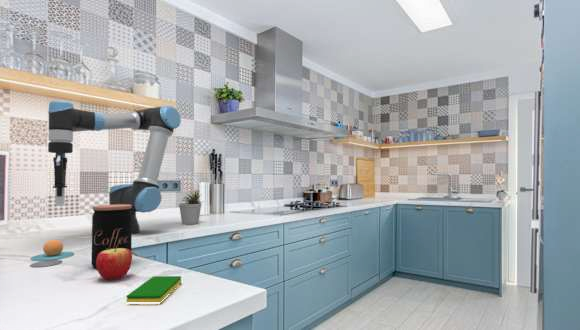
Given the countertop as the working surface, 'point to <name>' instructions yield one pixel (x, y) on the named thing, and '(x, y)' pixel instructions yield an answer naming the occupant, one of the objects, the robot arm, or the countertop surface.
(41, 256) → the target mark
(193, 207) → the potted plant
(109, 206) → the coffee jar
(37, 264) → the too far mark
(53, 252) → the ball
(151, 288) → the dish sponge
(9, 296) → the countertop surface
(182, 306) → the countertop surface
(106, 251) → the apple
